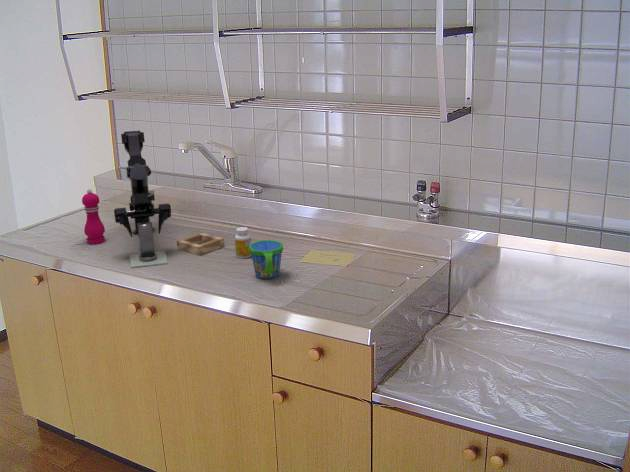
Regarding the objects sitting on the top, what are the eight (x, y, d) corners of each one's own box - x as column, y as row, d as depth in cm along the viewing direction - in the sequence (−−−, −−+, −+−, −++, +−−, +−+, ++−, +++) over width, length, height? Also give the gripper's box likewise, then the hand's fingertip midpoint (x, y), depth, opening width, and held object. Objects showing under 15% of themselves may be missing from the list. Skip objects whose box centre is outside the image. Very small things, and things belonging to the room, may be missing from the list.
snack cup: (285, 284, 214) (283, 252, 211) (250, 285, 213) (248, 254, 210) (283, 266, 229) (282, 236, 225) (251, 267, 228) (249, 238, 225)
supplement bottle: (232, 256, 239) (230, 229, 236) (244, 252, 243) (242, 225, 240) (243, 259, 235) (241, 232, 232) (255, 255, 239) (253, 228, 236)
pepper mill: (109, 238, 261) (102, 186, 254) (101, 245, 254) (94, 191, 248) (90, 238, 261) (83, 186, 255) (82, 244, 255) (75, 191, 248)
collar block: (177, 249, 247) (176, 241, 246) (202, 240, 256) (201, 232, 255) (199, 255, 240) (199, 247, 239) (224, 246, 249) (224, 238, 248)
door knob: (150, 254, 241) (146, 219, 237) (160, 258, 237) (157, 223, 233) (135, 259, 237) (131, 224, 233) (146, 263, 233) (142, 227, 229)
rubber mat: (129, 256, 241) (129, 255, 241) (165, 252, 244) (164, 251, 244) (130, 268, 230) (130, 266, 230) (167, 263, 233) (167, 262, 233)
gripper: (111, 185, 232) (115, 226, 226) (167, 180, 237) (173, 220, 230) (113, 202, 242) (117, 242, 236) (168, 197, 247) (173, 236, 240)
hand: (145, 234), depth 235 cm, fingers open, 9 cm apart
